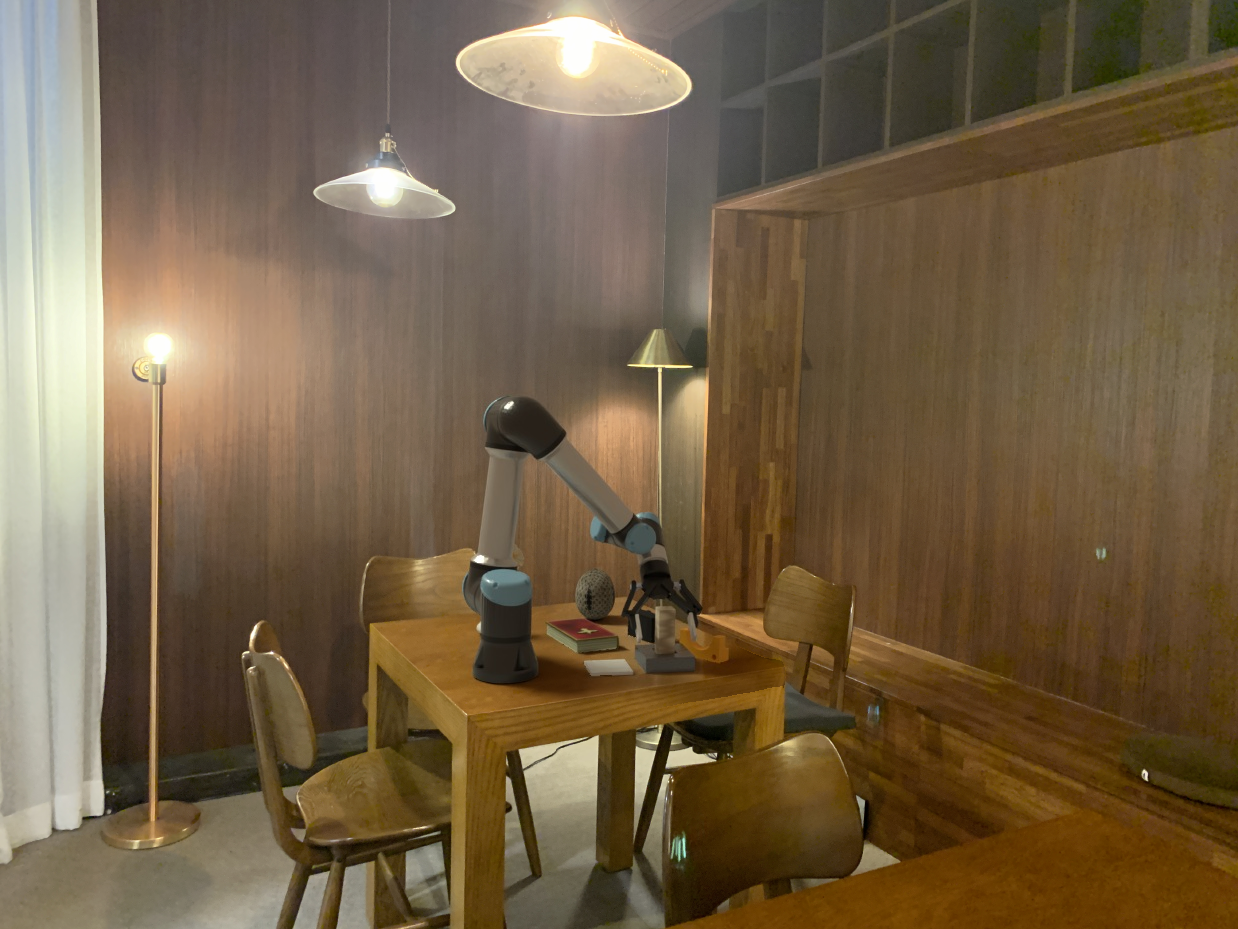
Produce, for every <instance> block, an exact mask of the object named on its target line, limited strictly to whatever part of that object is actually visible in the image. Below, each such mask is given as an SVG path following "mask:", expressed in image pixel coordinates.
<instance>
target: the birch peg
mask: <svg viewBox="0 0 1238 929" xmlns="http://www.w3.org/2000/svg"><path fill="white" fill-rule="evenodd" d="M654 610H655V612H654V613H655V643H654V644H655V653H656V654H672V653H675V644H676V616H677V615H676V614H677V611H676V610H677V609H675V607H673V606H672V605H666V606H665V605H662V606H658V605H657V606H655V609H654Z"/></svg>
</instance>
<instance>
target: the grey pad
mask: <svg viewBox="0 0 1238 929" xmlns="http://www.w3.org/2000/svg"><path fill="white" fill-rule="evenodd" d="M583 664H584V666H586V667H585V668H586V671H587V672H588V673H590V674H589V676H590V675H591V676H590V677H601V676H600V675H612V676H625V675H626V676H633V675H634V671H633V669H632V667H631V666H630V665H629V663H628V662H627V661H626V659H625V658H621V659H620V658H619V659H593V660H584V661H583Z"/></svg>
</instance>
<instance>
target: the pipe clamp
mask: <svg viewBox="0 0 1238 929" xmlns="http://www.w3.org/2000/svg"><path fill="white" fill-rule="evenodd" d="M726 638H727V637H726V635H720V634H718V635H714V636H713V637H712V642H711V644H710V645H707V646H704V647H703V646H702V645H700V644H699V643H698V642H697V640H695V641H694V642H692V640H691V635H690V630H689V627H684V628H681V629H680V630H679V643H682V644H683V645H684V646H685V647H686V648H687V649H688V650H689V651H690V652H691V653H692V654H693V655H694V656H695V657H696V658H695V659H698V658H701V659H700V660H703V659H705V660H704V661H707V660H708V661H707V662H710V663H711V662H712V663H715V662H716V663H715V664H721V663H720V662H722V663H724V662H726V661H729V657H730V647H726Z"/></svg>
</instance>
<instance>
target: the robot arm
mask: <svg viewBox="0 0 1238 929" xmlns="http://www.w3.org/2000/svg"><path fill="white" fill-rule="evenodd" d="M482 424H483V427H484V431H485V433H486V435H485V441H484V442H485V444H484V449H485V451H486V452H487V454H488V455H489V463H488V470H487V477H486V484H485V493H484V502H483V507H482V508H483V509H482V517H481V523H480V533H479V539H478V540H479V541H478V547H477V553H475V554H474V555H473V556H472V557H471V558H470V559H469V569H468V572H467V573H466V574H465V576H464V578H463V580H462V585H461V586H462V587H461V591H462V592H461V593H462V595H463V599H464V600H465V602H466V604H467V606H468V607H469V608H470V610H472V611H473V612H475V613H476V614H478V615H479V616H480V622H481V633H480V642H479V645H478V649H477V652H476V655H475V658H474V660H473V664H472V676H473V677H474V678H475V679H476V678H477V680H479V681H482V682H485V683H493V684H514V683H515V684H516V683H521V682H527V681H531V680H532V679H534V678H537V676H538V675H539V661H538V658H537V655H536V652H535V649H534V646H533V643H532V621H533V620H532V618H533V617H532V616H533V615H532V613H533V610H532V609H533V605H532V604H533V593H534V591H533V590H534V589H533V584H532V579H531V578H530V576H529V575H528V574H527V573H525V572H523V571H520V570H519V571H518V570H517V567H518V563H517V562H516V561H515V560H514V558H513V550H514V544H515V540H516V533H517V526H518V518H519V510H520V503H521V494H522V486H523V479H524V470H525V464H526V460H527V459H529V457H531V456H532V457H533V458H534V459H535V460H536V461H540V462H541V461H542V462H544V463H545V464H546V465H547V467H548V468H549V469H551V471H552V472H553V473H554V474H555V475H556V477H558V478H559V479H560V480H561V481H562V483H564V485H565V486H566V487H567V488H568V489H569V490H570V491H571V492H572V493H573V495H575V497H576V498H577V499H578V500H579V501H580V502H581V503H582V504H583V505H584V506H585V507H586V508H587V509H588V510H589V511H590V513H591V514H592V515H593V518H592V520H591V523H590V527H589V528H590V529H589V531H590V532H589V534H590V536H591V539H592V540H593V541H595V542H597V543H602V544H608V545H612V546H614V547H617V548H619V549H620V548H621V549H623V550H625V551H628V552H630V554H636V557H637V563H638V568H639V575H640V581H641V582H637V581H636V580H635V579H632V580H631V583H630V586H629V594H628V596H627V598H626V600H625V602H624V606H623V608H622V611H621V617H622V618H627V621H628V620H629V621H630V626H631V629H632V630H635V632H636V638H635V639H636V645H639V644H641V643H642V641H643V640H642V632H641V626H640V620H639V614H637V613H638V612H639V610H640V609H642V608H643V607H644V605H645V604H646V603H647V602H648V601H649V599H652V600H656V601H657V600H665V599H667V600H668V601H669V602H672V603H673V604H674V605H676V606H677V607H678V608H679V609H680V610H682V611H683V612H684V613H685V614H686V615H687V618H686V620H687V624H688V628H689V630H690V635H691V640H692V642H694V641H697V638H698V633H697V628H698V626H699V620H698V616H700V615H701V614H702V612H703V609H704V607H703V606H702V605H701V604H700V603H699V601H698V600H697V598H696V596H694V595H693V594H692V592H691V591H690V589H689V588H688V586H686V585H687V584H686V583H685V580H684V579H683V578H681V579H679V581H673V580H672V575H671V571H670V565H669V564H668V563H669V560H668V556H667V551H666V548H665V547H666V545H665V540H664V536H663V529H662V526H661V521H660V519H659V517H658V515H657V514H655V513H653V512H651V511H645V512H639V513H637V514H635V513H634V511H632V509H630V507H629V506H628V505H627V504H626V503H625V502H624V501H623V500H622V499H621V497H620V496H619V495H618V494H617V493H616V491H614V490H613V488H612V487H611V486H610V485H609V484H608V482H606V481H605V479H604V478H603V477H602V476H601V475H600V474H599V473H598V472H597V470H596V469H595V468H593V466H592V464H590V463H589V462H588V461H587V459H585V457H584V456H583V455H582V454H581V453H580V452H579V450H577V448H576V447H575V446H574V445H573V444H572V443H571V442H570V441H569V440H568V432H567V431H566V429H565V428H564V427H563V426H562V425H561V424H560V423H559V421H557V420H556V418H555V417H554V416H553V415H552V413H551V412H550V411H548V409H547V408H546V407H545V406H544V405H543V404H542V403H541V402H540V401H538V400H537V399H535V398H533V397H531V396H527V395H526V396H524V395H521V396H520V395H519V396H517V395H506V396H501V397H499V398H497V399H495V400H493V401H492V402H491V403H490V404H489V405H488V407H487V408H486V410H485V412H484V415H483V422H482ZM674 588H675V589H674ZM640 589H641V590H642V592H644V593H643V594H642V596H641V597H640V598H639V600H638V601H637V602H636V603H635V605H634V606H633V607H632V608H631V609H630V606H631V604H632V602H633V600H634V597H635V594H636V592H638V591H639V590H640ZM677 592H679V593H680V594H678V593H677ZM680 595H681V596H680ZM630 610H631V611H630Z"/></svg>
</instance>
